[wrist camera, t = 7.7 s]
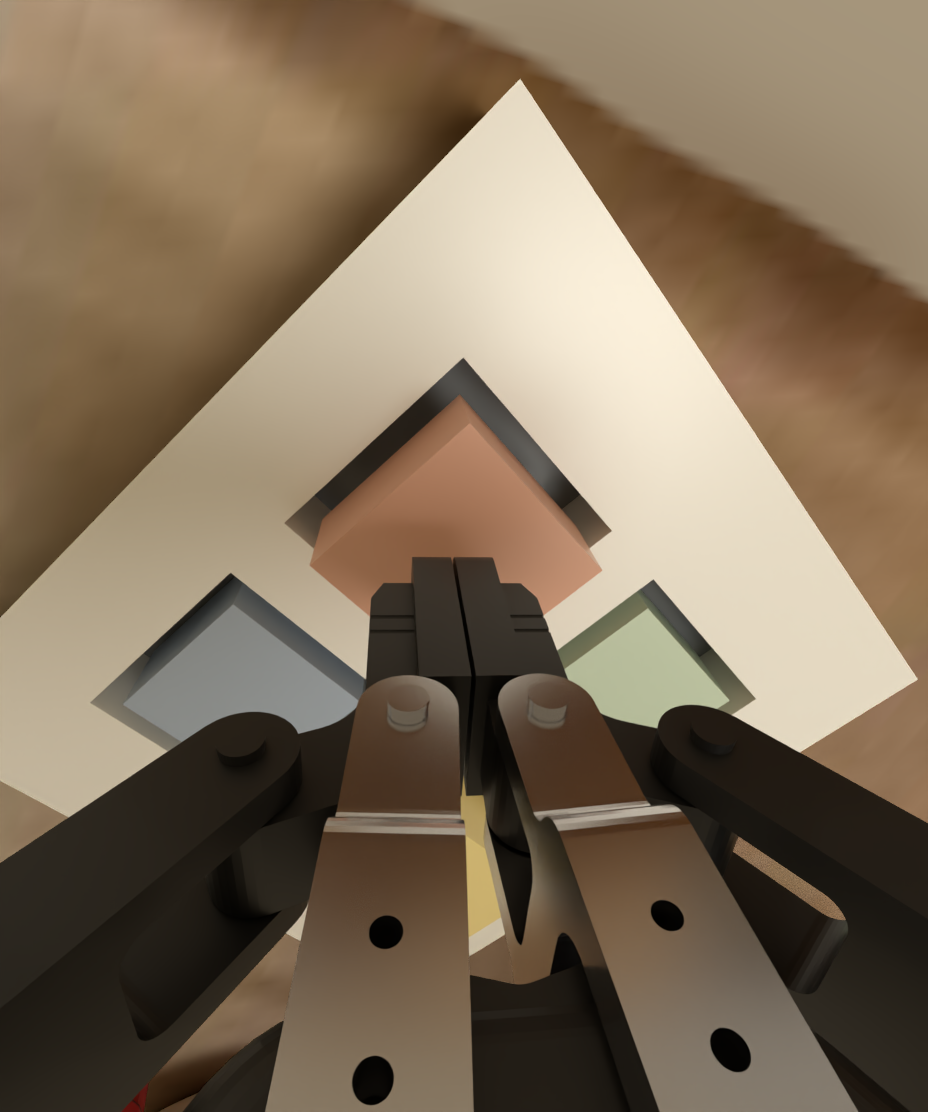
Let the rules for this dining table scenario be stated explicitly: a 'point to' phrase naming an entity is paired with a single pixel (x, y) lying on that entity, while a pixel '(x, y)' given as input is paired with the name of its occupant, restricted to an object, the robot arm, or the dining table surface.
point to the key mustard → (477, 866)
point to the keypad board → (401, 412)
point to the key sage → (638, 665)
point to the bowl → (179, 1105)
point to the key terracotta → (452, 517)
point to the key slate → (242, 670)
